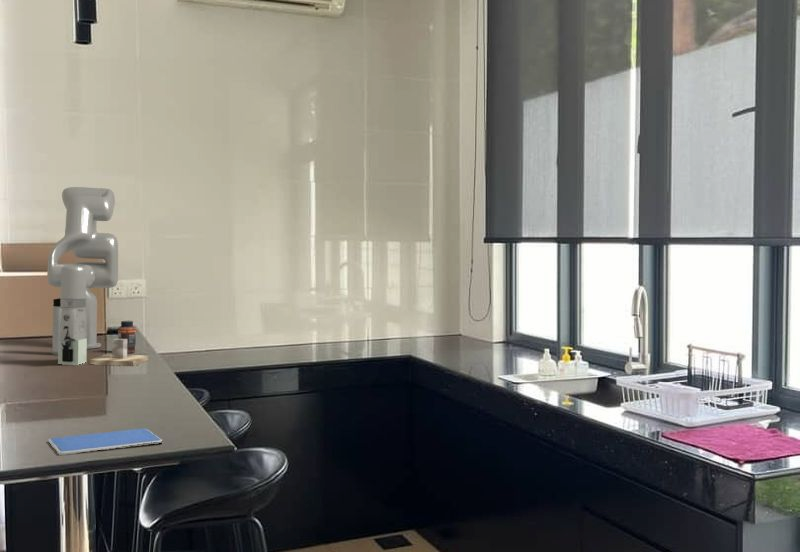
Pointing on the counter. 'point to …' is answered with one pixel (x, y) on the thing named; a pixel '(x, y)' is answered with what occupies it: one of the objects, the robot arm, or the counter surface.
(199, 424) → the counter surface
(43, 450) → the counter surface
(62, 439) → the tablet computer
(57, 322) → the travel mug
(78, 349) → the pale green block
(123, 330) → the supplement bottle
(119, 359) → the post board
